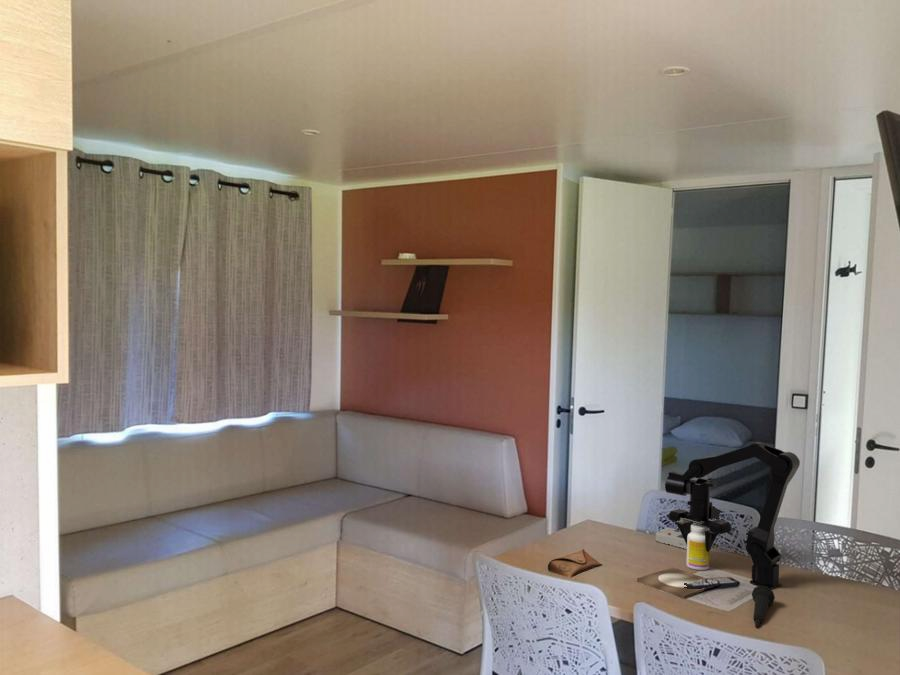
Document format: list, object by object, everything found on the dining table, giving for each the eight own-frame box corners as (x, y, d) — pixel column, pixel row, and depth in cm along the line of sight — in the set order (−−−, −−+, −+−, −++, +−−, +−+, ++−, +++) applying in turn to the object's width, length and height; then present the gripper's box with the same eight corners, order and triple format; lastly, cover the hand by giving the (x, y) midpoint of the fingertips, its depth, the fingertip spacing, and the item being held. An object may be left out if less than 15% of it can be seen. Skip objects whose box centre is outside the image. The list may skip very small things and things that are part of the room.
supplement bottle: (711, 571, 225) (713, 529, 225) (690, 570, 225) (691, 529, 225) (704, 563, 232) (706, 523, 232) (683, 563, 232) (684, 522, 232)
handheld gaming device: (667, 537, 261) (667, 526, 260) (706, 547, 250) (706, 536, 250) (653, 542, 254) (653, 531, 254) (693, 553, 244) (693, 541, 244)
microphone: (763, 642, 184) (770, 605, 202) (772, 623, 182) (778, 587, 200) (741, 631, 186) (750, 595, 204) (749, 612, 185) (757, 577, 202)
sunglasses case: (570, 578, 216) (561, 555, 219) (553, 584, 221) (544, 562, 223) (604, 564, 229) (595, 543, 231) (587, 570, 234) (579, 550, 236)
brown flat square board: (719, 585, 213) (719, 582, 213) (684, 598, 203) (684, 595, 203) (672, 569, 226) (672, 566, 226) (636, 581, 216) (637, 577, 215)
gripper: (742, 501, 225) (740, 552, 226) (689, 489, 240) (687, 536, 241) (721, 506, 219) (719, 558, 219) (668, 493, 233) (666, 542, 234)
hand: (698, 548), depth 228 cm, fingers closed on supplement bottle, 7 cm apart
